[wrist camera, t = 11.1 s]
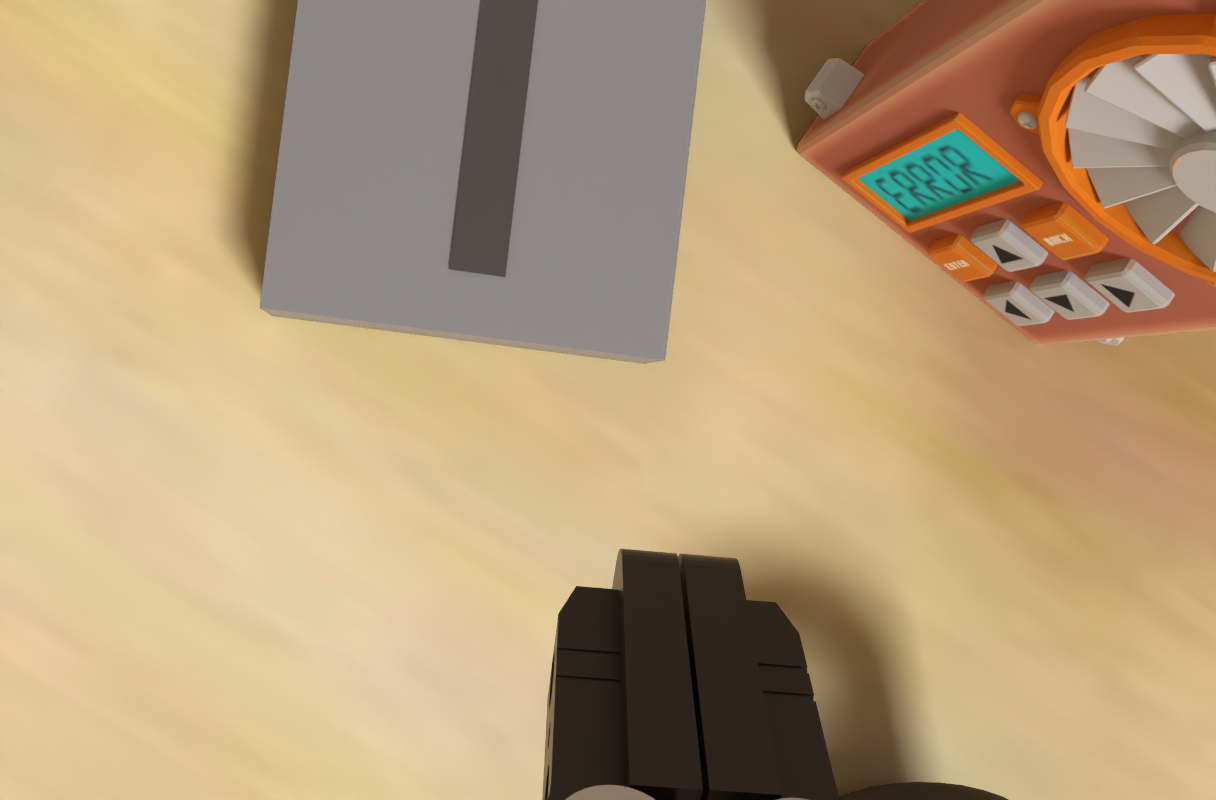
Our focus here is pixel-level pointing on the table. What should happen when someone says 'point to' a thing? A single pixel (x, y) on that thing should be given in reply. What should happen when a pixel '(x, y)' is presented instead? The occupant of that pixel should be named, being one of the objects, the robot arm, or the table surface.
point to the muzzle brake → (921, 792)
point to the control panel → (1041, 156)
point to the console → (486, 170)
